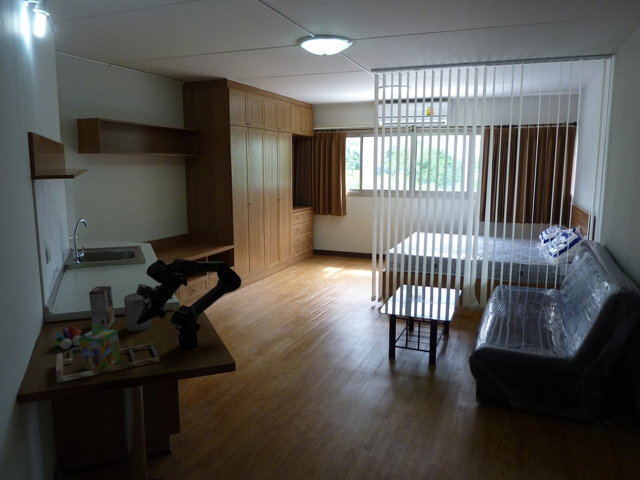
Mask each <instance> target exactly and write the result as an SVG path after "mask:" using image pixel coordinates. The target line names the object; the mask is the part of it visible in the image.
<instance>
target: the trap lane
mask: <svg viewBox="0 0 640 480" xmlns="http://www.w3.org/2000/svg"><path fill="white" fill-rule="evenodd" d="M149 349H150V350H151V352H152V354H153V357H150V358H146V359H145V358H144V359H141V360H136V356H135V353H134V352H138V351H144V350H149ZM68 350H69V351H68V352H69V353H68V354H69V355H68V356H69V357H68V358H66V359H63V353H62V352H60V353H56V366H55V367H56V368H55V372H56V373H55V375H56V380H57V383H62V382H66V381H72V380H76V379H80V378H86V377H90V376H91V377H92V376H95V375H100V374H105V373H110V372H111V373H112V372H115V370H116V371H120V369H121V370H125V369H124V368H126V369H129V368H128V367H131V368H135V367H134V366H136V367H139V365H140V366H144V364H145V365H149V363H150V364H154V363H159V362H160V361H161V360H160V356H159V354H158V352H157V350H156V348H155V345H154V343H153V342H150V343H146V344H140V345H136V346H135V345H134V346H130V347H123V348H120V355H123V354H128V353H129V356H130V359H131V362H126V363H121V364H114V365H113V366H110V367H105V368H100V369H95V370H85V371H81V372H76V373H72V374H71V373H70V374H65V375H64V365H69V364H70V365H71V364H73V363H74V356H73V355H74V353H77V352H81V350H80V346H75V347H72V348H71V347H70V348H68ZM122 353H123V354H122Z"/></svg>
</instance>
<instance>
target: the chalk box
mask: <svg viewBox="0 0 640 480" xmlns="http://www.w3.org/2000/svg"><path fill="white" fill-rule="evenodd" d="M95 327H99V329H95ZM90 329H91V330H90V331H88V332H86V333H84V334H82V335H80V336H81V337H79V342H80V345H79V347H80V350H81V351H80V356H81V365H82V370H87V371H90V370H95V369H100V368H105V367H110V366H115V365H117V363H119V362H121V361H122V360H121V354H120V349H121V348H120V339H119V337H120V336H119V331H118V329H111V328H110V329H109V328H108V329H102V327H101V324H100V322H98V323H96V324H94V325H91V326H90Z"/></svg>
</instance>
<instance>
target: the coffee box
mask: <svg viewBox="0 0 640 480" xmlns="http://www.w3.org/2000/svg"><path fill="white" fill-rule="evenodd" d="M88 295H89V304H90V313H91V323H92V325H94V324H96V323H98V322H100V324H101V327H102V329H109V328H110V327H111V325H113V324H114V322H116V321H115V311H114V304H113V303H114V302H113V292H112V286H109V285H108V286H105V285H103V286H102V285H101V286H95V287H94V288H93V289H92V290H90V291H89V292H88ZM92 325H91V326H92ZM95 329H99V327H95Z"/></svg>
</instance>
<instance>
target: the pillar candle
mask: <svg viewBox="0 0 640 480" xmlns="http://www.w3.org/2000/svg"><path fill="white" fill-rule="evenodd" d="M143 301H144V302H145V301H146V299H145V298H144V299H143V298H142V296H140V295H137V292H135V293H133V292H132V293H129V294H126V295H125V296H124V297H123V302H124V312H125V320H126V321H125V322H126V323H125V324H126V329H127V331H128V332H141V331H144V330H147V329H149V328H151V327H152V319H150V320H148V321H146V322H144V323H142V324H140V325H138V324H137V323H136V322H137V320H138V318H139V316H140V314H141V312H142V310H143Z"/></svg>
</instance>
